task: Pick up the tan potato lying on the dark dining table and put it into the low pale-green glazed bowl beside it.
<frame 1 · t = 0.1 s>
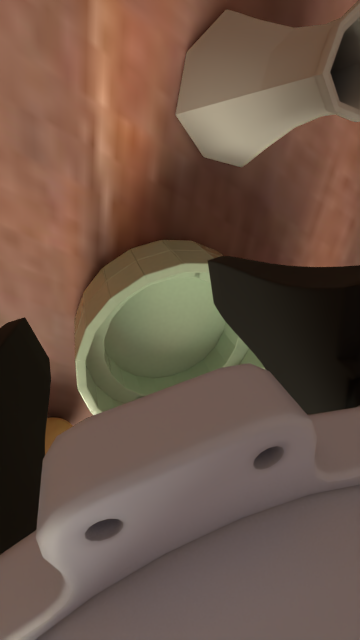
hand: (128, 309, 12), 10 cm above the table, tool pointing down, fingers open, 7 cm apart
potato: (39, 434, 26), on the table
flask: (231, 98, 18), on the table
celadon bowl: (165, 323, 25), on the table
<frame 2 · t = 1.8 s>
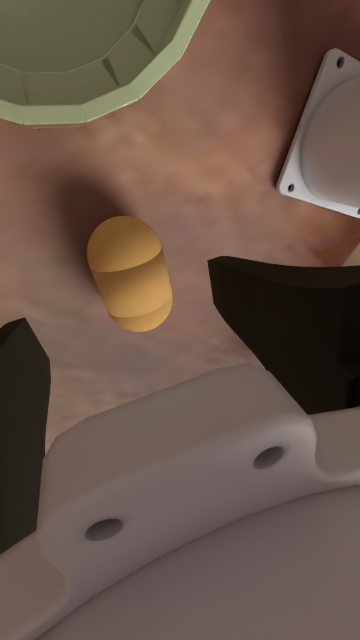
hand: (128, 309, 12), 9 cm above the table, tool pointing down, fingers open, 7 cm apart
potato: (127, 265, 20), on the table
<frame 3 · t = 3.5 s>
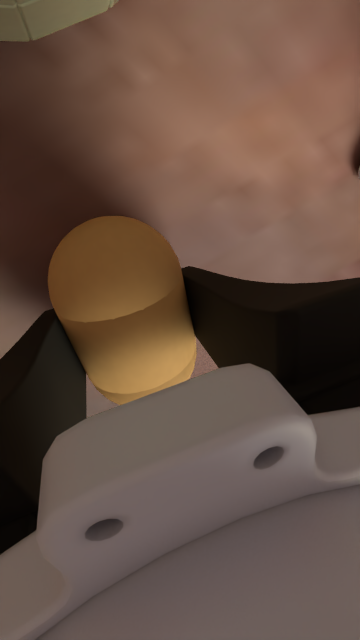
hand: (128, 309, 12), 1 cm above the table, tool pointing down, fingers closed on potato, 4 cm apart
potato: (122, 294, 13), on the table, touching gripper
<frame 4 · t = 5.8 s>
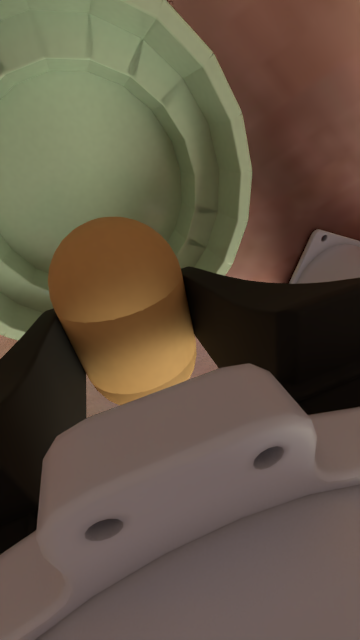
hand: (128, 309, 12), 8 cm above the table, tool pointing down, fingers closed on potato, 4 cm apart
potato: (122, 295, 13), point 7 cm above the table, touching gripper
celadon bowl: (89, 192, 17), on the table
when the fingers open (2 cm above the table, at t = 8.3 s): potato stays where it is, resting on celadon bowl.
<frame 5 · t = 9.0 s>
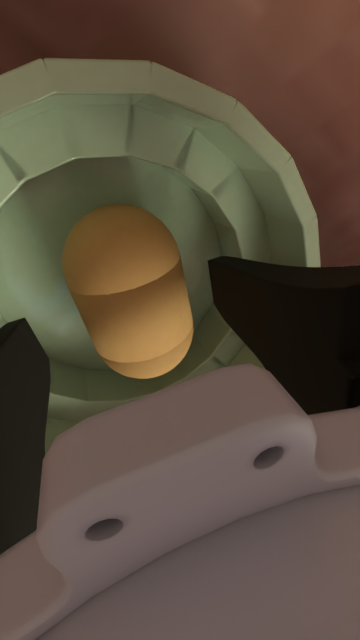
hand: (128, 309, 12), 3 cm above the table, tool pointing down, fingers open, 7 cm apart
potato: (117, 281, 14), point 1 cm above the table, tilted 12°, touching celadon bowl
celadon bowl: (116, 276, 14), on the table
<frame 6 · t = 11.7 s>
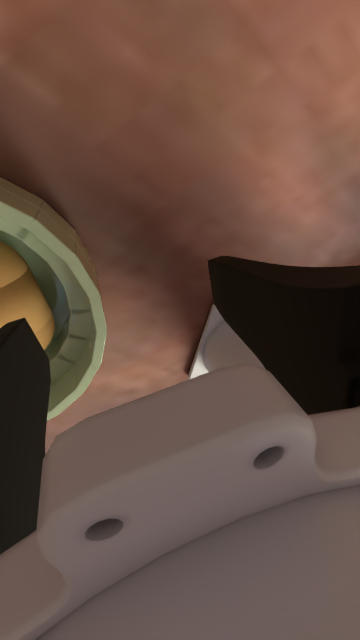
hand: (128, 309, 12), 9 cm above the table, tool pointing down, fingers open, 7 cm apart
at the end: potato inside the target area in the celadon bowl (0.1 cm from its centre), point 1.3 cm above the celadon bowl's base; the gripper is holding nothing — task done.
